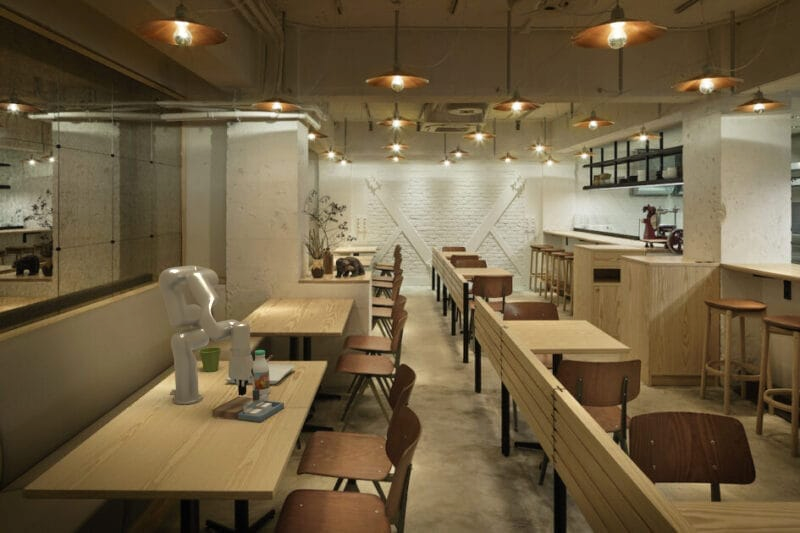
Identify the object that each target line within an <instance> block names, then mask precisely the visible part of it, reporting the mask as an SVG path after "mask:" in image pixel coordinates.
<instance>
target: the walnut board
mask: <svg viewBox="0 0 800 533" xmlns="http://www.w3.org/2000/svg"><path fill="white" fill-rule="evenodd" d="M251 401H253V397H248V396H241V395H238V396H236V397H234V398H232V399H230V400H228V401H226V402H223V404H221V405H218V406H217V407H215V408H213V409H211V412H212V413H211V414H212V418H220V419H226V420H227V419H229V420H235V419H236V420H237V421H239V420H238V413H240V412H242V411H244V406H243V405H245V404H247V403H249V402H251Z"/></svg>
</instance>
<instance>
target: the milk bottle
mask: <svg viewBox="0 0 800 533" xmlns="http://www.w3.org/2000/svg"><path fill="white" fill-rule="evenodd" d="M254 356H255V357H254V360H253V363H254V377H253V379H254V381H253V382H252V384H251V385H252V390H254V389H259V394H260V396H262V395H264V394H268V395H269V394H270V393H271V392H270V391H271V389H270V388H271V386H270V385H271V384H270V379H269V367H268V364H269V363H268V362H266V360H265V359H266V357H265V356H266V351H265V350H264V349H257V350H255V351H254Z"/></svg>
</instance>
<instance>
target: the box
mask: <svg viewBox="0 0 800 533" xmlns="http://www.w3.org/2000/svg"><path fill="white" fill-rule="evenodd" d="M264 403H272V408H271V409H269V410H268V411H266V412H263V411H262V415H260V416H257V415H249V414H245V412H244V411H242V412H240V413H238V420H237V421H245V422H252V423H263V422H264V421H266V420H268V419H270V418H271V417H273V416H274V415H276V414H277V413H279V412H281V411H282V410H284V409H285V402H283V401H275V400H274V401H273V400H267V401H265V402H264ZM253 409H255V408H253Z"/></svg>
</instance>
